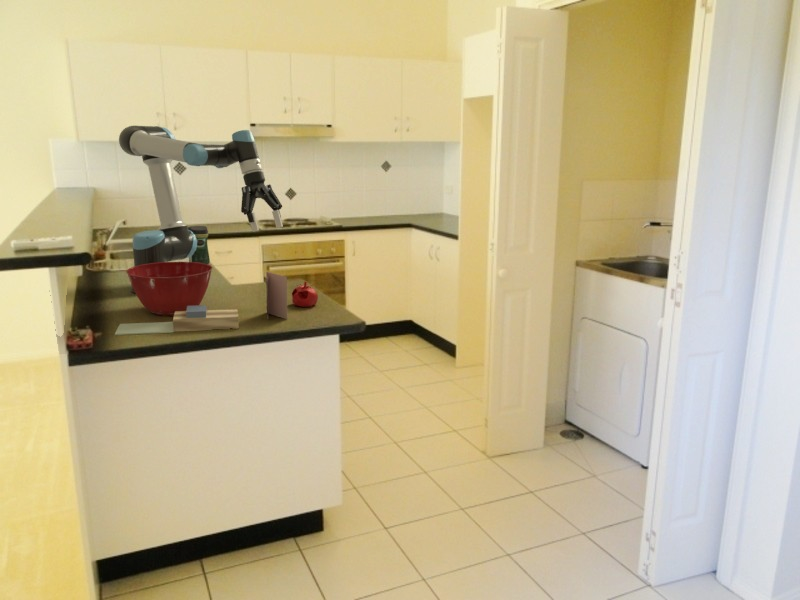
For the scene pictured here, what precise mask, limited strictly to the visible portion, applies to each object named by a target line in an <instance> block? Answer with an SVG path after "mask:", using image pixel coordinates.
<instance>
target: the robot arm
mask: <svg viewBox="0 0 800 600" xmlns="http://www.w3.org/2000/svg"><path fill="white" fill-rule="evenodd" d="M231 139H232V140H231V141H230V142H228V143H224V144H203V143H196V142H190V141H186V140H179V139H176V138H175V136H174V134H173V133H172V132H171V130H169V129H168V128H166V127H161V126H157V125H156V126H155V125H153V126H152V125H149V126H148V125H130V126H126V127H125V128H123V129H122V130H121V132H120V133H119V135H118V143H119V147H120V148H121V150H122V151H123V152H124V153H126V154H128V155H130V156H134V157H141V158H142V162H143V164H145V165H146V166H147V167H148V171H149V176H150V181H151V185H152V190H153V194H154V199H155V203H156V207H157V208H156V209H157V212H158V218H159V222H160V225H159V227H158V228H157V229H153V230H144V231H140V232H137V233H135V234H134V235H133V237H132V246H131V247H132V252H133V253H132V254H133V267H135V266H138V265H144V264H150V263H160V262H176V261H181V260H185V259H189V257H191V256H192V255H193V254H194V252H195V251H196V248H197V239H196V236H195V235H194V234H193V232H192V231H190V230H188V227H189V226H188V224H186V223H185V222H184V221H183V217H182V213H181V212H182V211H181V209H180V203H179V199H178V193H177V189H176V184H175V179H174V174H173V170H172V165H171V163H172V161H178V162H182V163H186V164H187V165H188V166H193V167H203V166H205V167H206V166H213V167H215V168H217V169H223V168H227V167H229V166H231V165H234V164H235V163H239V168H240V171H241V174H242V175H243V177H242V178H243V182H244V185H245V186H243V187H241V194H242V195H241V205H240V206H241V208H240V213H242V214H243V215H246V217H247V219H248V223H249V224H250V228H251V232H257V231H259V230H260V228H259V225H258V224H259V223H258V221H257V217H256V213H255V212H254V208H255V204H256V201H257V199H261V200H263V201H264V202H265V203H266V204H267V205H268V206H269V208H270V209H272V211H271V212H272V217H273V220H274V223H275V227H276V228H275V229H280V228H282V227H283V228H284V225H283V220H282V215H281V212H280V210H281V209H282V208H283V205H282V203H281V202H280V200H279V198H278V196H277V195H276V193H275V191H274V190H273V187H272V185H271V184H267V185H266V184H265V181H266V178H265V175H264V174H265V173H264V172H263V167H262V163H261V160H260V157H259V153H258V148H257V144H256V141H255V138H254V134H253V132H252V131H251V130H248V129H243V130H238V131H234V132H233V133H232V134H231ZM130 292H131V293H133V294H136V293H135V291H134V289H133V287H132V285H131V284H130Z"/></svg>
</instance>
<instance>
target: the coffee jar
mask: <svg viewBox="0 0 800 600" xmlns="http://www.w3.org/2000/svg"><path fill="white" fill-rule="evenodd" d="M188 230H190V231H192V232H193V234H194V235H195V236H196V239H197V248H196V251H195V252H194V254H193V255H192V256H191V257H189V258H188V262H197V263H204V264H208V265H209V264H210V263H211V261H210V254H209V248H208V246H209V245H208V237H209V231H208V227H207V226H206V225H192V226H188Z"/></svg>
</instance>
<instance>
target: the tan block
mask: <svg viewBox="0 0 800 600" xmlns="http://www.w3.org/2000/svg"><path fill="white" fill-rule="evenodd" d="M172 322H173V330H174V332H173V333H175V332H191V331H192V332H196V331H213V330H212V329H223V330H231V329H230V328H240V327H239V323H240V322H239V310H238V308H230V309H207V312H206V317H202V318H186V311H175V313H174V316H173V319H172Z"/></svg>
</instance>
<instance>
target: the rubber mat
mask: <svg viewBox="0 0 800 600" xmlns="http://www.w3.org/2000/svg"><path fill="white" fill-rule="evenodd" d="M168 333H170V334H171V333H175V332H174V330H173V321H163V322H161V321H160V322H156V321H155V322H138V323H137V322H135V323H134V322H133V323H120V324H119V325H118V327H117V329H116V330H115V333H114V336H120V335H123V336H124V335H126V336H127V335H144V334H146V335H147V334H149V335H150V334H168Z"/></svg>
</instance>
